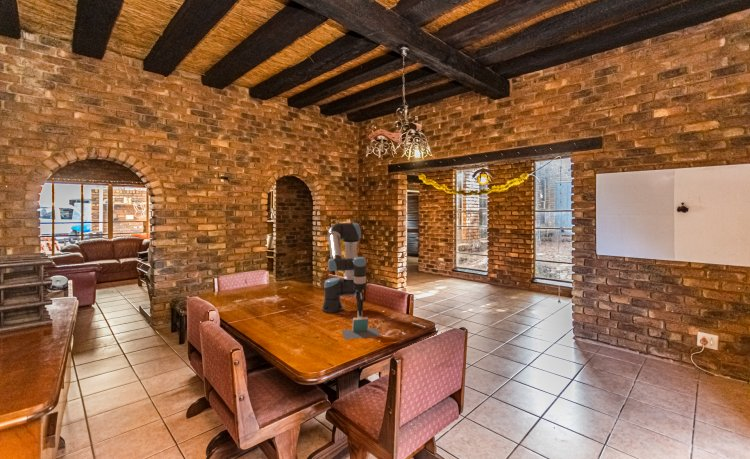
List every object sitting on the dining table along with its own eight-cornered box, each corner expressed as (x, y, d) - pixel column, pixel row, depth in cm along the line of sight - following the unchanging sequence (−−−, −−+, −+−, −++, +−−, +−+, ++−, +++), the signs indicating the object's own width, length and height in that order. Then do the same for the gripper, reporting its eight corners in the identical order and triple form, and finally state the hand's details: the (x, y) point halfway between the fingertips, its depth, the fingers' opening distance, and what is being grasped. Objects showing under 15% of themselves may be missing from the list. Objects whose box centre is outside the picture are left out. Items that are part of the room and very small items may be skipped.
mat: (341, 331, 207) (341, 330, 207) (376, 328, 212) (376, 327, 211) (344, 340, 193) (344, 339, 193) (381, 337, 198) (381, 336, 198)
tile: (352, 329, 206) (353, 317, 203) (366, 328, 208) (367, 316, 205) (352, 332, 204) (353, 320, 201) (367, 330, 206) (368, 319, 203)
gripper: (352, 280, 210) (352, 317, 212) (355, 285, 197) (355, 324, 199) (363, 280, 211) (364, 316, 213) (367, 284, 199) (367, 323, 200)
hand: (359, 320), depth 206 cm, fingers closed
